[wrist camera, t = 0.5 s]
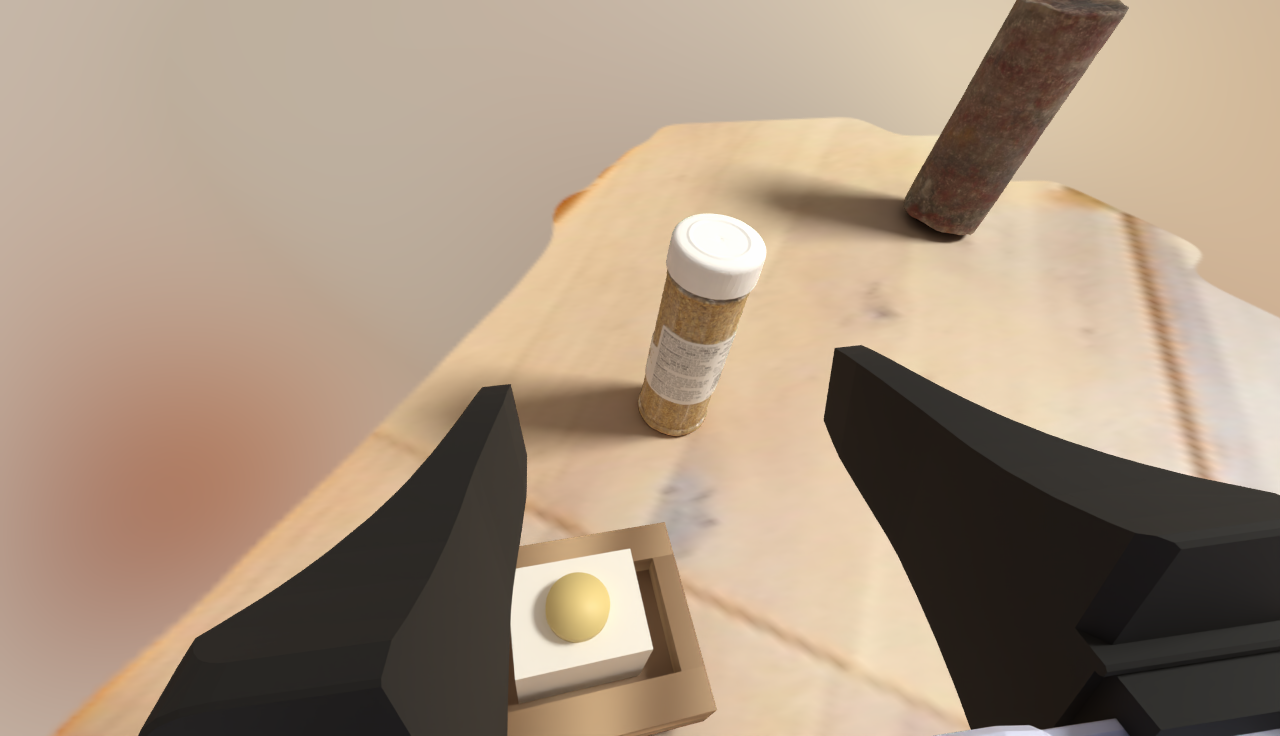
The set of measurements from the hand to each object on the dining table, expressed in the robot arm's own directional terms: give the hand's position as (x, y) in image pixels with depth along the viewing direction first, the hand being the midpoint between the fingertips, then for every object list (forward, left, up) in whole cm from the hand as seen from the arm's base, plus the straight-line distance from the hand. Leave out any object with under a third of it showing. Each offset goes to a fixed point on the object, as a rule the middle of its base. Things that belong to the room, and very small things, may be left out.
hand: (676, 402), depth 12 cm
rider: (0, +2, -16) cm, 16 cm away
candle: (+32, -40, -19) cm, 54 cm away
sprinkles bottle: (+13, -7, -19) cm, 24 cm away
